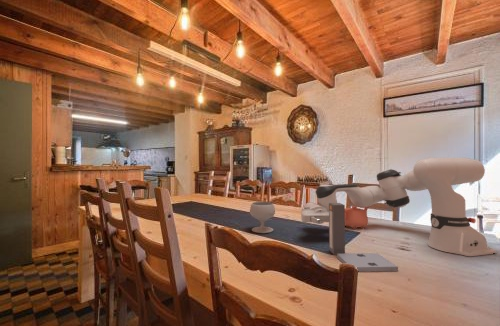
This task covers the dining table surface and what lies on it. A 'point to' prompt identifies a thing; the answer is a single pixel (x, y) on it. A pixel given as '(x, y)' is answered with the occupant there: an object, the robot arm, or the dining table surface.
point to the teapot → (356, 217)
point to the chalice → (262, 215)
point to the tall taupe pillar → (336, 228)
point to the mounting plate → (367, 262)
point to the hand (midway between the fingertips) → (328, 221)
